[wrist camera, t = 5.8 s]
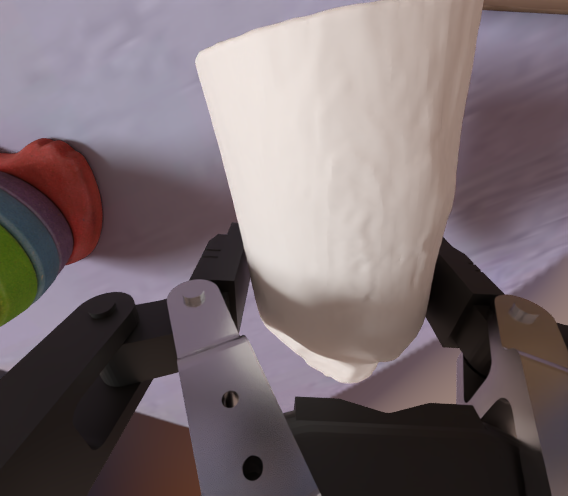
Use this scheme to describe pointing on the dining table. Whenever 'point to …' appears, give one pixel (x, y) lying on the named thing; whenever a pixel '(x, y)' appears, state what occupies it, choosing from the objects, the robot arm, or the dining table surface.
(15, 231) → the stacking bear
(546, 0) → the box
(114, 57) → the dining table surface
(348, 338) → the roll
